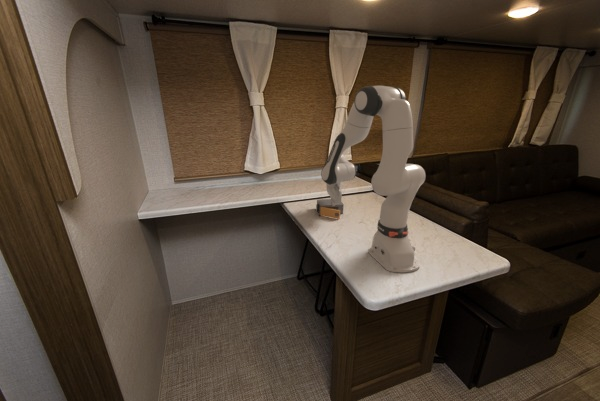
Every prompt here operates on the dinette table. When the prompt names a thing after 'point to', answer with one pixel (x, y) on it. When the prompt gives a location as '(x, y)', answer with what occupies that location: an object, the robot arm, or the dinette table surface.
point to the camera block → (329, 205)
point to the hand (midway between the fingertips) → (333, 205)
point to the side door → (329, 212)
